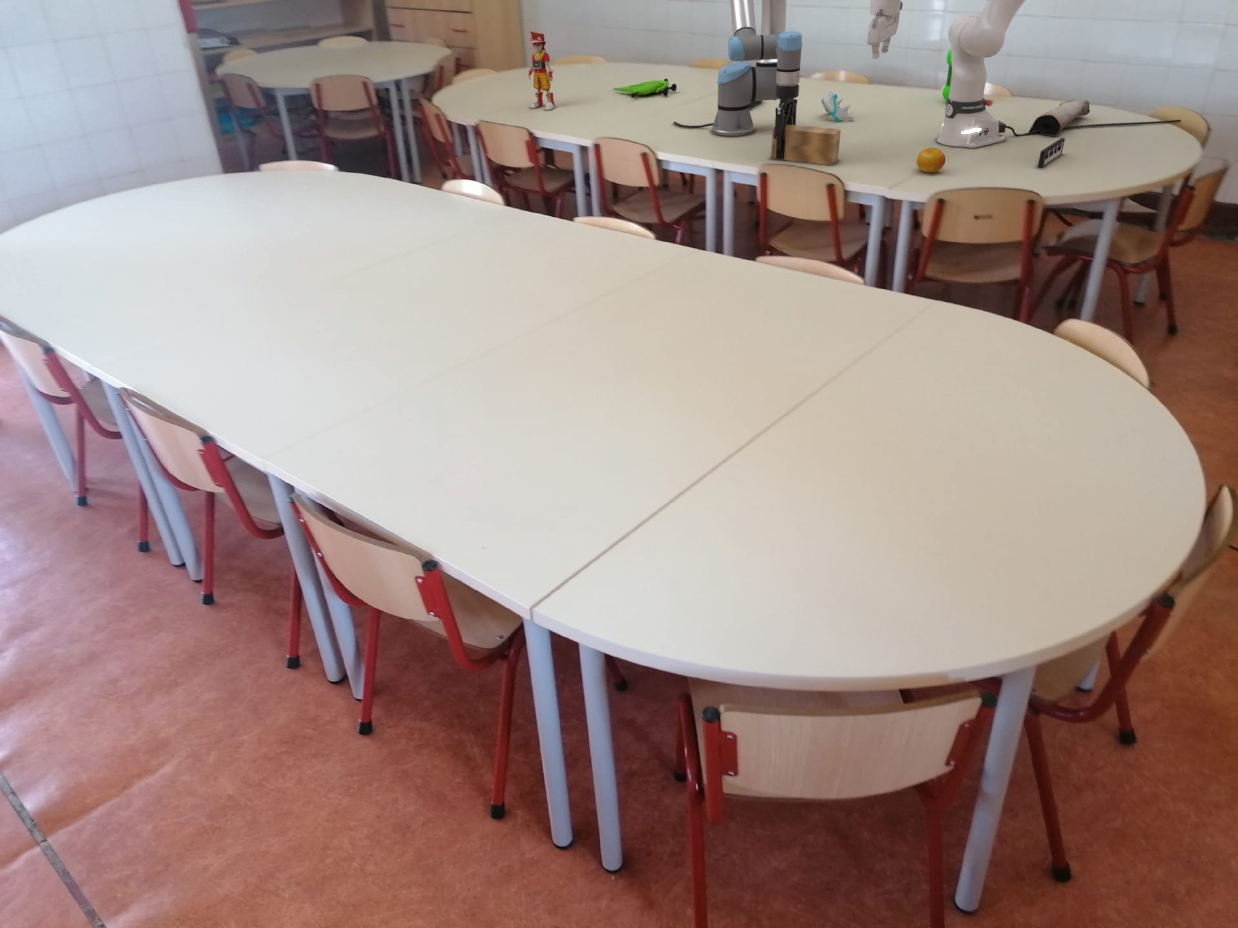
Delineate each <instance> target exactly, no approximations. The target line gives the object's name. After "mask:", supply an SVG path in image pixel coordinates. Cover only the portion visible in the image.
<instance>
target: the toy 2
mask: <svg viewBox="0 0 1238 928" xmlns="http://www.w3.org/2000/svg"><path fill="white" fill-rule="evenodd" d="M669 85H670V83H669V79H668V78H664V79H663V80H649V81H644V82H640V83H634V84H629V85H627V86H621V87H613V88H612V89H613V90H616V91H619V92H623V93H627V94H628V93H629V94H631V95H630V96H631V98H632V99H634V98H636V96H637V95H650V94H652V93H654V94H658V93H662V95H663V96H665V97H667V96H668V95H669V90H671V91H672V92H676V91H677V84H676V83H672V84H671V86H669Z"/></svg>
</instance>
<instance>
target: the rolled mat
mask: <svg viewBox="0 0 1238 928" xmlns="http://www.w3.org/2000/svg"><path fill="white" fill-rule="evenodd" d="M1090 113H1091V110H1090V101H1089V100H1087V99H1073V100H1066V101H1063V102H1060V103H1059V105H1058V106H1057V107H1055V108H1052V109H1049V111H1047V112H1045V113H1043V114H1041V115H1040V116H1038V117H1036V119H1035V120H1034V121H1033V123H1032V125H1031V127H1030V129H1029V130H1028V133H1029V132H1033V131H1040V133H1041V134H1042V135H1045V136H1051V137H1054V136H1056V135H1058V134H1059V133H1061V131H1062V130H1064V129H1063V128H1064V127H1067V125H1068V124H1069V123H1071V122H1072V121H1073V120H1075V119H1076V118H1077V117H1082V116H1083V117H1084V116H1086V115H1089V114H1090Z"/></svg>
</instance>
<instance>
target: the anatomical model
mask: <svg viewBox="0 0 1238 928" xmlns="http://www.w3.org/2000/svg"><path fill="white" fill-rule="evenodd" d="M820 99H821V100H820V101H821V104H822V106H823V108H824V110H825V112H827V113H829V114H830V115H831V116H832V118H833V120H834V121H835V122H841V121H843V120H853V119H854V118H855V116H854V115H851V114H849V113H848V110H849V109H850V108H851V105H845V106H843V107H841V106H840V104H841V102H842V101H843V98H840V99H838V94H837V93H835V92H834V91H833V90H830V92H829V94H828V95H826V96H822V97H821V98H820ZM837 99H838V100H837Z"/></svg>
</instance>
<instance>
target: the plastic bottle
mask: <svg viewBox="0 0 1238 928" xmlns="http://www.w3.org/2000/svg"><path fill="white" fill-rule="evenodd" d="M946 63H947V64H948V69H947V70H948V71H947V76H946V77H947V78H946V84H945V85H944V87H943V90H942V97H943V99H944V100H945V101H946V102H947V98H948V97H949V91H950V84H951V76H952V59H951V48H950V49H949V50H948V52H947V54H946Z"/></svg>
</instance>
